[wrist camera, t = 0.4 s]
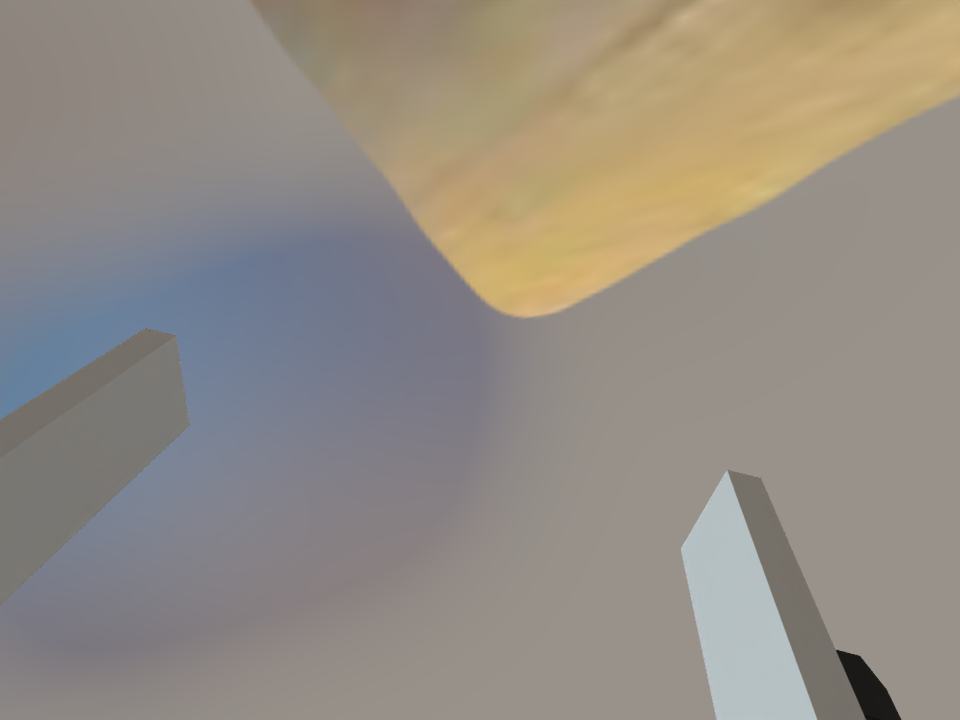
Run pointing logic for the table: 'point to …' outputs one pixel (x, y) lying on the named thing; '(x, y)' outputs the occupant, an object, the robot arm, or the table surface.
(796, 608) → the robot arm
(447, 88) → the table surface
